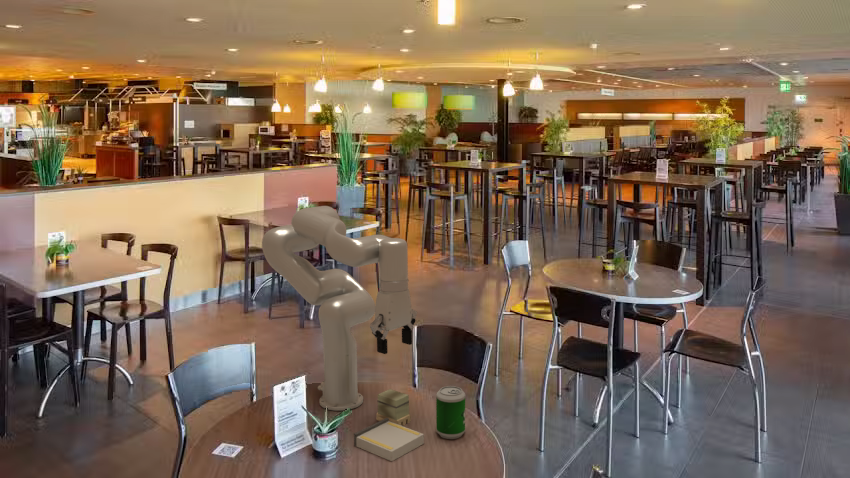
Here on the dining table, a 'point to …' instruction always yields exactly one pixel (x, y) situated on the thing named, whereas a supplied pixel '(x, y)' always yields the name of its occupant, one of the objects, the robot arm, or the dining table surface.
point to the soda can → (450, 412)
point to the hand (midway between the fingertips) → (394, 348)
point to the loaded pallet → (393, 407)
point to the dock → (388, 439)
